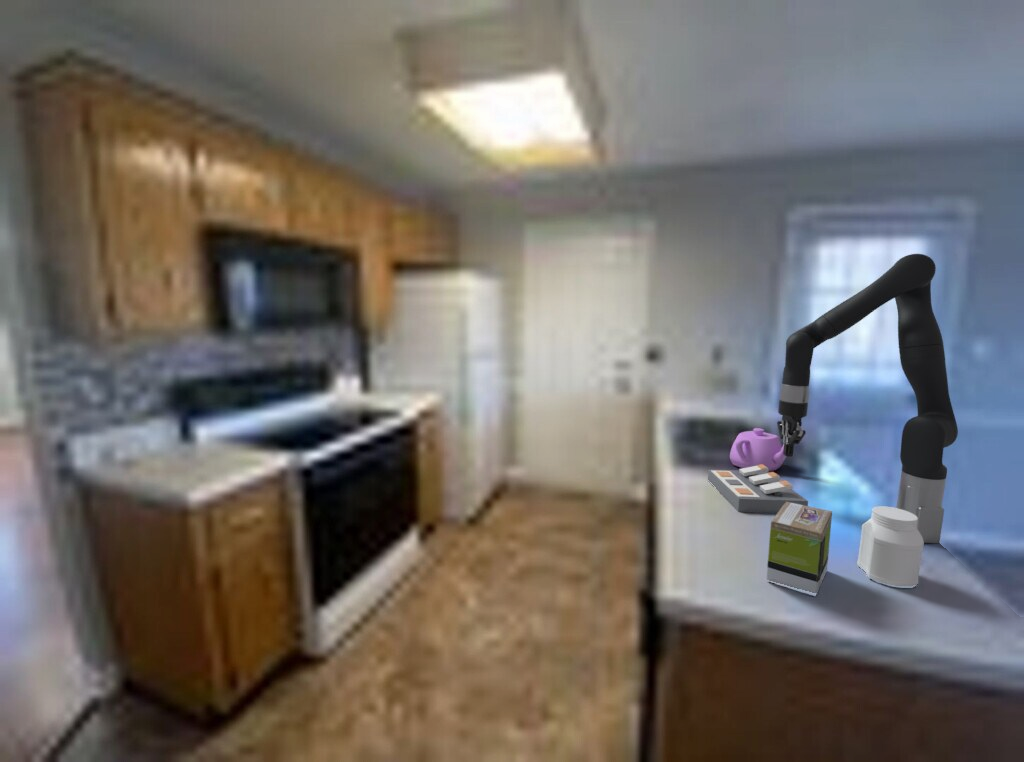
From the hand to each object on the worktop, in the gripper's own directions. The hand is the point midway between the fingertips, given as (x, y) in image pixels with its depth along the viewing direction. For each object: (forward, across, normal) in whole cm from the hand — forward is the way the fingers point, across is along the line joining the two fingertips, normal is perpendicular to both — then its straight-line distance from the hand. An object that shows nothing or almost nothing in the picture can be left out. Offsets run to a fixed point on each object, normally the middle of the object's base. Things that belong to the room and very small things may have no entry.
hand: (787, 455), depth 154 cm
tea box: (+16, -42, +16) cm, 48 cm away
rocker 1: (+10, +16, +3) cm, 19 cm away
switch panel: (+16, +8, +6) cm, 19 cm away
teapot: (+16, +38, -8) cm, 42 cm away
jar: (+16, -40, -4) cm, 44 cm away
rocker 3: (+10, 0, +3) cm, 10 cm away
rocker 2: (+10, +8, +3) cm, 13 cm away
